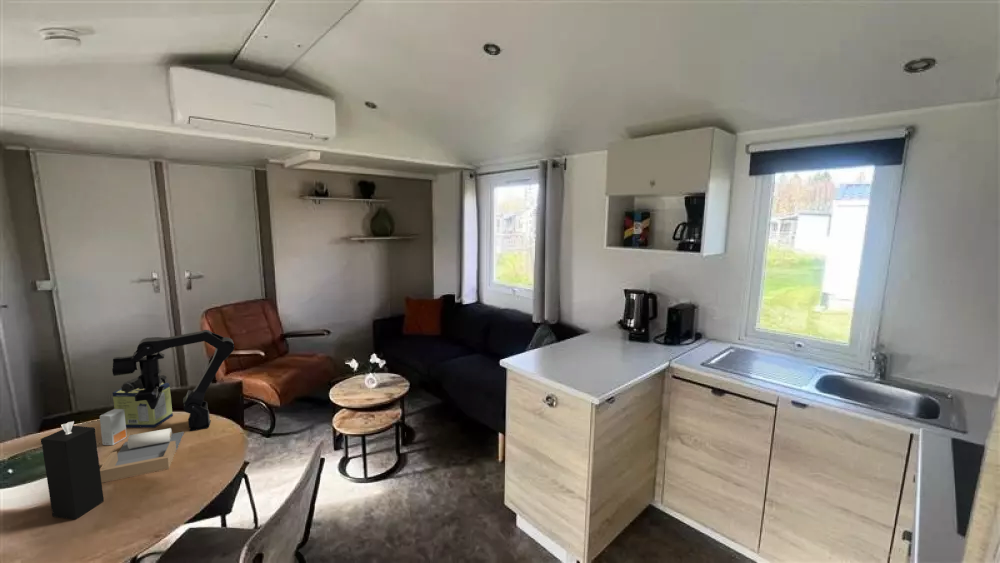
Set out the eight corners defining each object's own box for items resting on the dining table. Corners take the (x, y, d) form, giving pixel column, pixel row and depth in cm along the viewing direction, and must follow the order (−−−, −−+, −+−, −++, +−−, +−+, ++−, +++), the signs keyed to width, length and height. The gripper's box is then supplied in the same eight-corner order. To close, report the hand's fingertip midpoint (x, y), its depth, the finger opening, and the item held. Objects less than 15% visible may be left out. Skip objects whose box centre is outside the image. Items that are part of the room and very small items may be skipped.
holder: (183, 433, 164) (182, 423, 164) (168, 468, 142) (167, 457, 141) (125, 443, 156) (124, 433, 155) (99, 483, 133) (98, 471, 133)
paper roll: (172, 437, 160) (171, 425, 159) (169, 444, 156) (168, 432, 155) (132, 444, 154) (130, 432, 153) (128, 451, 150) (126, 439, 149)
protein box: (136, 415, 177) (132, 382, 175) (173, 416, 178) (170, 382, 176) (115, 428, 167) (111, 392, 164) (155, 428, 168) (151, 392, 165)
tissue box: (104, 501, 125) (93, 417, 121) (75, 520, 117) (63, 430, 113) (81, 499, 126) (70, 415, 122) (51, 517, 118) (38, 428, 114)
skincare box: (113, 445, 154) (109, 416, 153) (102, 445, 155) (98, 415, 153) (127, 437, 160) (124, 408, 159) (117, 436, 161) (114, 408, 159)
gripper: (130, 365, 162) (134, 402, 164) (114, 382, 146) (118, 422, 148) (165, 361, 167) (169, 397, 170) (153, 377, 151) (157, 416, 153)
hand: (153, 407), depth 160 cm, fingers closed
